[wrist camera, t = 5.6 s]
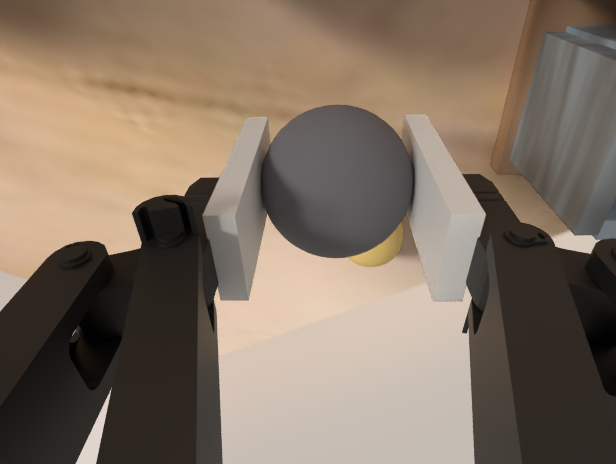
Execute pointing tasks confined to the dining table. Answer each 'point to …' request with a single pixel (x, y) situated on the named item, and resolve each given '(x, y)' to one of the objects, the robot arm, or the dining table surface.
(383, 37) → the dining table surface
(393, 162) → the charcoal ball
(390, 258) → the ochre ball
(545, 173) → the desk organizer
